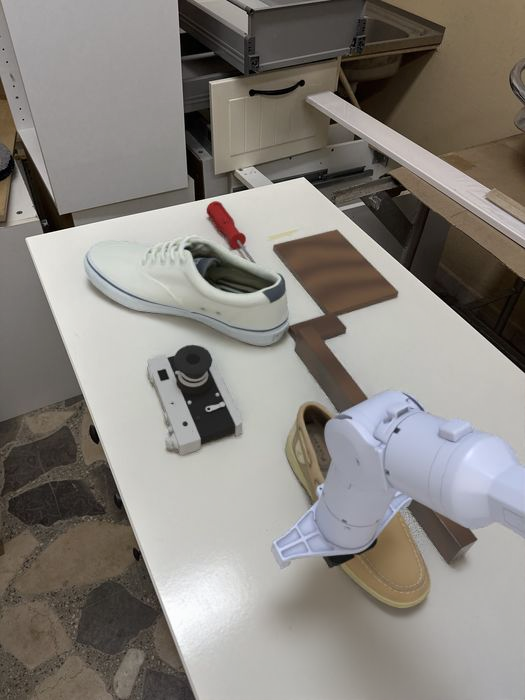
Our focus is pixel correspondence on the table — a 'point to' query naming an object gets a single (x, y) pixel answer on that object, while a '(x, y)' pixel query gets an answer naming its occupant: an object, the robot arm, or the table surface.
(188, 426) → the camera
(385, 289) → the wooden paddle board
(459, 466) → the robot arm
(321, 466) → the boat shoe
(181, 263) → the sneaker
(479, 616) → the table surface
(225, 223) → the screwdriver
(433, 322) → the table surface
